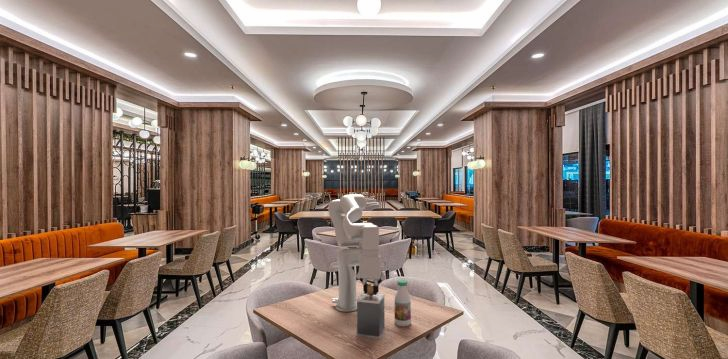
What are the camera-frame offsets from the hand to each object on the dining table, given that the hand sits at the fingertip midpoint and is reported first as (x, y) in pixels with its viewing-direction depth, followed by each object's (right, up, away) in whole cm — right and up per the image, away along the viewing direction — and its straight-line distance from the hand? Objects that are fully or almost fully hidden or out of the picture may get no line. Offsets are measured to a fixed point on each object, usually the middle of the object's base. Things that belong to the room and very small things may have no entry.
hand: (370, 293), depth 140 cm
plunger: (0, -16, 0) cm, 16 cm away
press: (0, -17, +1) cm, 17 cm away
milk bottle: (+15, -18, +8) cm, 25 cm away
